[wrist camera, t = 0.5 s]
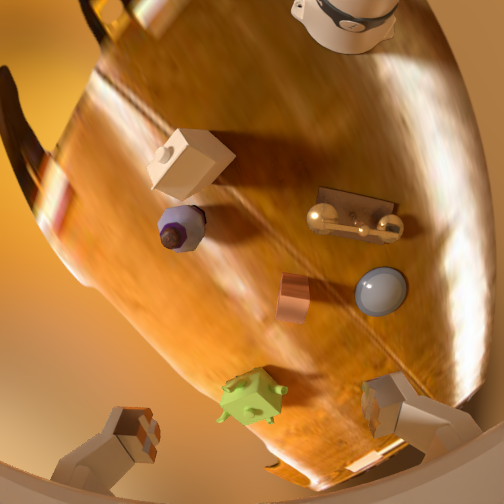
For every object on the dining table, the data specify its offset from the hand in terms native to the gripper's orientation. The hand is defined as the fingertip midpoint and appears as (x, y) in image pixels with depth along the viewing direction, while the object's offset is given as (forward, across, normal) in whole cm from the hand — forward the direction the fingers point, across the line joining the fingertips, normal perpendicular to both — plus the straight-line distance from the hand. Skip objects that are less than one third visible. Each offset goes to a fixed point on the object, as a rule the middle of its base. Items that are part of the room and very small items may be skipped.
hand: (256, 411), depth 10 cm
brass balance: (+43, -19, +3) cm, 47 cm away
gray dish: (+43, -25, +19) cm, 53 cm away
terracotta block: (+46, -7, +16) cm, 49 cm away
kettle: (+50, +4, +41) cm, 65 cm away
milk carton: (+47, +5, -11) cm, 48 cm away
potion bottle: (+48, +10, 0) cm, 50 cm away
